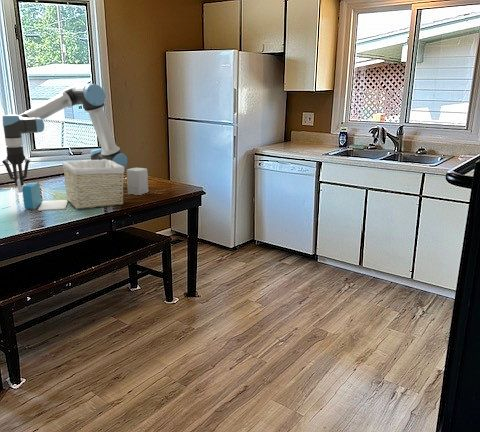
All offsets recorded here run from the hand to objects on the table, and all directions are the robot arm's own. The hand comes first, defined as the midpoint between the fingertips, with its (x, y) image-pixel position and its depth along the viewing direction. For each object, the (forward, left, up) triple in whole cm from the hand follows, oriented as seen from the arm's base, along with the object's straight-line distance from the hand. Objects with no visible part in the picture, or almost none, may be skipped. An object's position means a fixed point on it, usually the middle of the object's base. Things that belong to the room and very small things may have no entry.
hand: (20, 191), depth 229 cm
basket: (-36, -2, -8) cm, 37 cm away
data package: (-5, 0, -9) cm, 10 cm away
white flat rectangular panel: (-15, 0, -8) cm, 17 cm away
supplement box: (-60, -18, -9) cm, 63 cm away
